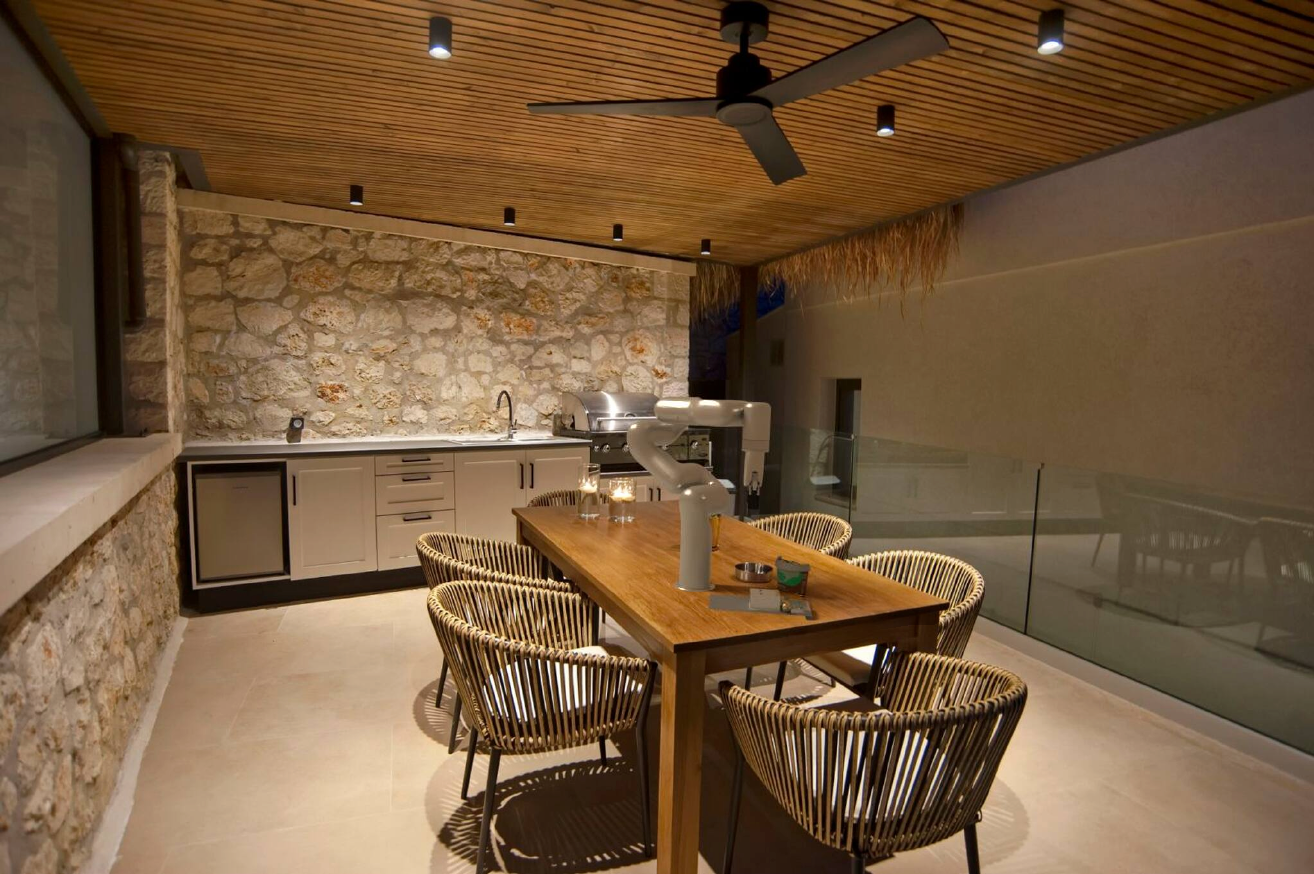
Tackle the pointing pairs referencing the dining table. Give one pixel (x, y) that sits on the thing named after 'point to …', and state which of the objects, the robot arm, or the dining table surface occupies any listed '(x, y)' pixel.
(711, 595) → the board
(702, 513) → the robot arm
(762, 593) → the tan studded block
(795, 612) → the fixed leaf
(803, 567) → the food container
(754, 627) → the dining table surface
